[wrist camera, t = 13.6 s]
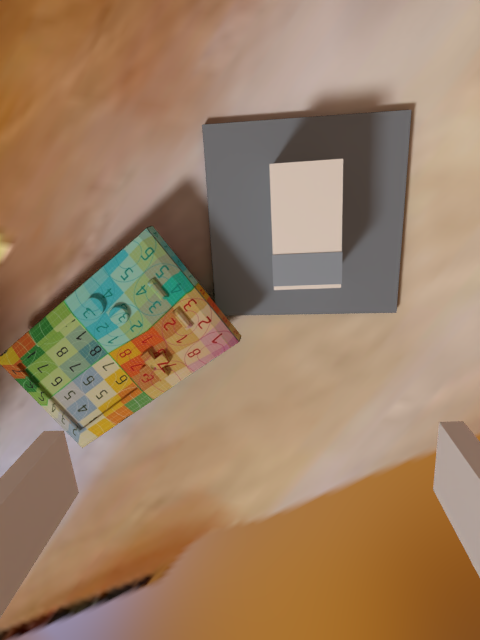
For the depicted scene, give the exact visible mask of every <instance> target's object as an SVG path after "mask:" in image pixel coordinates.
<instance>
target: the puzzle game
mask: <svg viewBox="0 0 480 640" xmlns="http://www.w3.org/2000/svg"><path fill="white" fill-rule="evenodd" d="M240 339H241V335H240V334H239V332H238V331H237V330H236V329H235V327H234V326H233V325H232V324H231V322H230V321H229V320H228V319H227V318H226V316H225V315H224V314H223V313H222V311H221V310H220V309H219V308H218V306H217V305H216V304H215V303H214V301H213V300H212V299H211V298H210V296H209V295H208V294H207V293H206V292H205V290H204V289H203V288H202V287H201V285H200V284H199V283H198V282H197V280H196V279H195V278H194V277H193V275H192V274H191V273H190V272H189V271H188V269H187V268H186V267H185V266H184V264H183V263H182V262H181V261H180V259H179V258H178V257H177V256H176V254H175V253H174V252H173V251H172V249H171V248H170V247H169V246H168V245H167V243H166V242H165V241H164V240H163V238H162V237H161V236H160V235H159V233H158V232H157V231H156V230H155V228H154V227H153V226H150V227H147V228H146V229H145V230H144V231H143V232H141V233H140V234H139V235H138V236H137V237H136V238H135V239H133V240H132V241H131V242H130V243H129V244H128V245H127V246H125V247H124V248H123V249H122V250H121V251H120V252H119V253H117V254H116V255H115V256H114V257H113V258H112V259H111V260H109V261H108V262H107V263H106V264H105V265H104V266H102V267H101V268H100V269H99V270H98V271H97V272H96V273H94V274H93V275H92V276H91V277H90V278H89V279H88V280H86V281H85V282H84V283H83V284H82V285H81V286H80V287H78V288H77V289H76V290H75V291H74V292H73V293H72V294H70V295H69V296H68V297H67V298H66V299H65V300H64V301H62V302H61V303H60V304H59V305H58V306H57V307H55V308H54V309H53V310H52V311H51V312H50V313H49V314H47V315H46V316H45V317H44V318H43V319H42V320H41V321H39V322H38V323H37V324H36V325H35V326H34V327H33V328H31V329H30V330H29V331H28V332H27V333H26V334H25V335H23V336H22V337H21V338H20V339H19V340H18V341H17V342H15V343H14V344H13V345H12V346H11V347H10V348H8V349H7V350H6V351H5V352H4V353H3V354H2V355H0V364H1V365H2V366H3V367H4V368H5V369H6V370H7V371H8V372H9V373H10V374H11V376H12V377H13V378H14V379H15V380H16V381H17V382H18V383H19V384H20V385H21V386H22V387H23V388H24V389H25V390H26V391H27V392H28V393H29V394H30V395H31V396H32V397H33V398H34V399H35V400H36V401H37V402H38V403H39V404H40V405H41V406H42V407H43V408H44V409H45V410H46V411H47V412H48V413H49V414H50V415H51V416H52V417H53V419H54V420H55V421H56V422H57V423H58V424H59V425H60V426H61V427H62V428H63V429H64V430H65V431H66V432H67V433H68V434H69V435H70V436H71V437H72V438H73V439H74V440H75V441H76V442H77V443H78V444H79V445H80V446H81V447H82V448H83V447H85V446H86V445H87V444H89V443H90V442H92V441H93V440H95V439H96V438H98V437H99V436H101V435H102V434H104V433H105V432H107V431H108V430H110V429H111V428H113V427H114V426H116V425H117V424H118V423H120V422H121V421H123V420H124V419H126V418H127V417H129V416H130V415H132V414H133V413H135V412H136V411H138V410H139V409H141V408H142V407H144V406H145V405H147V404H148V403H149V402H151V401H152V400H154V399H155V398H157V397H158V396H160V395H161V394H163V393H164V392H166V391H167V390H169V389H170V388H172V387H173V386H175V385H176V384H177V383H179V382H180V381H182V380H183V379H185V378H186V377H188V376H189V375H191V374H192V373H194V372H195V371H197V370H198V369H200V368H201V367H203V366H204V365H206V364H207V363H208V362H210V361H211V360H213V359H214V358H216V357H217V356H219V355H220V354H222V353H223V352H225V351H226V350H228V349H229V348H231V347H232V346H234V345H235V344H237V343H238V342H239V341H240Z"/></svg>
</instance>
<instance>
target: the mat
mask: <svg viewBox="0 0 480 640" xmlns="http://www.w3.org/2000/svg"><path fill="white" fill-rule="evenodd" d="M410 123H411V110H400V111H386V112H372V113H358V114H344V115H330V116H316V117H302V118H288V119H274V120H260V121H246V122H232V123H218V124H204V125H202V129H203V142H204V156H205V169H206V183H207V197H208V210H209V224H210V238H211V251H212V265H213V279H214V292H215V304H216V305H217V306H218V308H219V309H220V310H221V311H222V313H223V314H224V315H225V316H226V315H285V314H344V313H396V311H397V298H398V284H399V271H400V258H401V244H402V231H403V217H404V204H405V190H406V177H407V164H408V150H409V137H410ZM331 159H343V204H342V284H341V288H321V289H292V290H274V286H273V268H272V254H273V250H272V222H271V195H270V168H269V164H275V163H289V162H303V161H317V160H331Z"/></svg>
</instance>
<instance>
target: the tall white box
mask: <svg viewBox="0 0 480 640" xmlns="http://www.w3.org/2000/svg"><path fill="white" fill-rule="evenodd" d="M269 168H270V195H271V222H272V250H273V254H272V268H273V286H274V290H292V289H321V288H341V284H342V204H343V159H331V160H317V161H303V162H289V163H275V164H269Z"/></svg>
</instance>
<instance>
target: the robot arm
mask: <svg viewBox="0 0 480 640" xmlns="http://www.w3.org/2000/svg"><path fill="white" fill-rule="evenodd" d="M433 490H434V492H435V494H436V496H437V497H438V500H439V501H440V503H441V505H442V507H443V509H444V511H445V513H446V515H447V516H448V518H449V520H450V522H451V524H452V526H453V528H454V530H455V532H456V533H457V536H458V537H459V539H460V541H461V543H462V545H463V547H464V549H465V551H466V553H467V554H468V556H469V558H470V560H471V562H472V564H473V566H474V568H475V569H476V571H477V573H478V575H479V577H480V441H479V440H478V439H477V438H476V437H475V435H474V434H473V433H472V432H471V430H470V429H469V428H468V427H467V425H466V424H465V423H464V422H463V421H458V422H439V430H438V441H437V453H436V464H435V476H434V487H433ZM78 493H79V492H78V488H77V483H76V479H75V475H74V471H73V467H72V463H71V459H70V455H69V451H68V447H67V442H66V438H65V434H64V431H44V432H43V433H42V434H41V435H40V436H39V437H38V438H37V439H36V440H35V441H34V442H33V443H32V445H31V446H30V447H29V448H28V449H27V450H26V451H25V452H24V453H23V454H22V455H21V456H20V457H19V459H18V460H17V461H16V462H15V463H14V464H13V465H12V466H11V467H10V468H9V469H8V470H7V472H6V473H5V474H4V475H3V476H2V477H1V478H0V617H1V616H2V614H3V613H4V611H5V609H6V608H7V606H8V605H9V603H10V601H11V600H12V598H13V597H14V595H15V593H16V592H17V590H18V589H19V587H20V586H21V584H22V582H23V581H24V579H25V578H26V576H27V574H28V573H29V571H30V570H31V568H32V566H33V565H34V563H35V562H36V560H37V558H38V557H39V555H40V554H41V552H42V550H43V549H44V547H45V546H46V544H47V543H48V541H49V539H50V538H51V536H52V535H53V533H54V531H55V530H56V528H57V527H58V525H59V523H60V522H61V520H62V519H63V517H64V515H65V514H66V512H67V511H68V509H69V507H70V506H71V504H72V503H73V501H74V499H75V498H76V496H77V495H78Z"/></svg>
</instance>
